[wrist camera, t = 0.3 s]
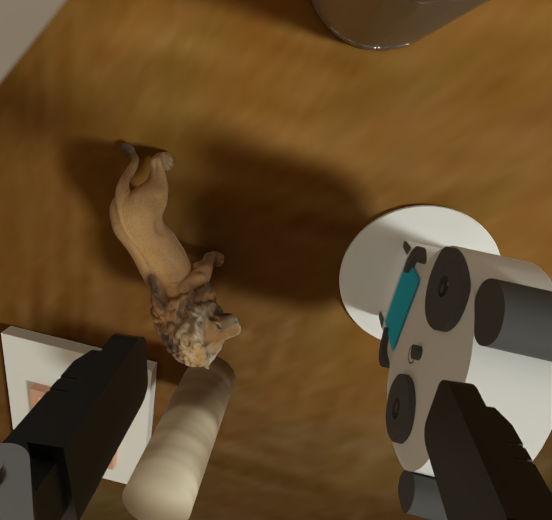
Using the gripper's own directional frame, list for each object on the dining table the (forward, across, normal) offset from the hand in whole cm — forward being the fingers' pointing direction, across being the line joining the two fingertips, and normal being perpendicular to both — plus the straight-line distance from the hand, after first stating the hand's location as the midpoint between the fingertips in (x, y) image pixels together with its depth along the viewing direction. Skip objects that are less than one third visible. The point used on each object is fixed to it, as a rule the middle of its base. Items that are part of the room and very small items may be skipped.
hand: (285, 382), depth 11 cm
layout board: (+19, +19, +24) cm, 36 cm away
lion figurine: (+19, +8, +4) cm, 21 cm away
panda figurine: (+18, -9, +5) cm, 21 cm away
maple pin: (+18, +6, +17) cm, 26 cm away
